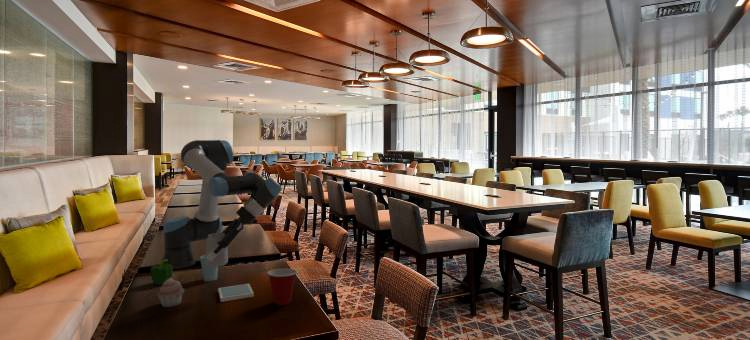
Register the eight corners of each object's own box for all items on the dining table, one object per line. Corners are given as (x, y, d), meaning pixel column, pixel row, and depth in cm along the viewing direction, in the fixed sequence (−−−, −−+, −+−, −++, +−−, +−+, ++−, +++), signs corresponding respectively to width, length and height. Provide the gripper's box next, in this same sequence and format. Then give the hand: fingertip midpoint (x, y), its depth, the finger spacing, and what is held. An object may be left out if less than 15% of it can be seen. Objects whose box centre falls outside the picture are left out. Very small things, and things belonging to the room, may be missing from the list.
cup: (218, 275, 186) (217, 252, 185) (221, 280, 179) (220, 256, 178) (200, 278, 182) (199, 255, 181) (202, 283, 175) (201, 259, 174)
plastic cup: (303, 298, 156) (302, 267, 155) (288, 309, 146) (287, 276, 145) (278, 295, 160) (277, 265, 159) (262, 306, 150) (261, 273, 149)
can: (211, 262, 163) (209, 232, 162) (230, 261, 163) (229, 231, 162) (204, 268, 155) (203, 236, 154) (224, 267, 156) (223, 236, 155)
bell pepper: (150, 288, 170) (149, 264, 170) (151, 282, 178) (150, 259, 177) (172, 285, 174) (171, 261, 173) (173, 279, 181) (172, 257, 181)
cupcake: (188, 298, 158) (187, 273, 157) (181, 308, 149) (180, 281, 148) (162, 300, 156) (161, 274, 156) (153, 310, 147) (152, 282, 147)
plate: (218, 291, 165) (218, 287, 165) (249, 287, 170) (249, 283, 170) (220, 302, 154) (220, 297, 154) (253, 296, 159) (253, 292, 159)
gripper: (260, 221, 155) (217, 269, 149) (253, 213, 174) (214, 256, 168) (245, 208, 152) (200, 257, 147) (239, 202, 171) (199, 245, 166)
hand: (207, 256), depth 158 cm, fingers closed on can, 7 cm apart
